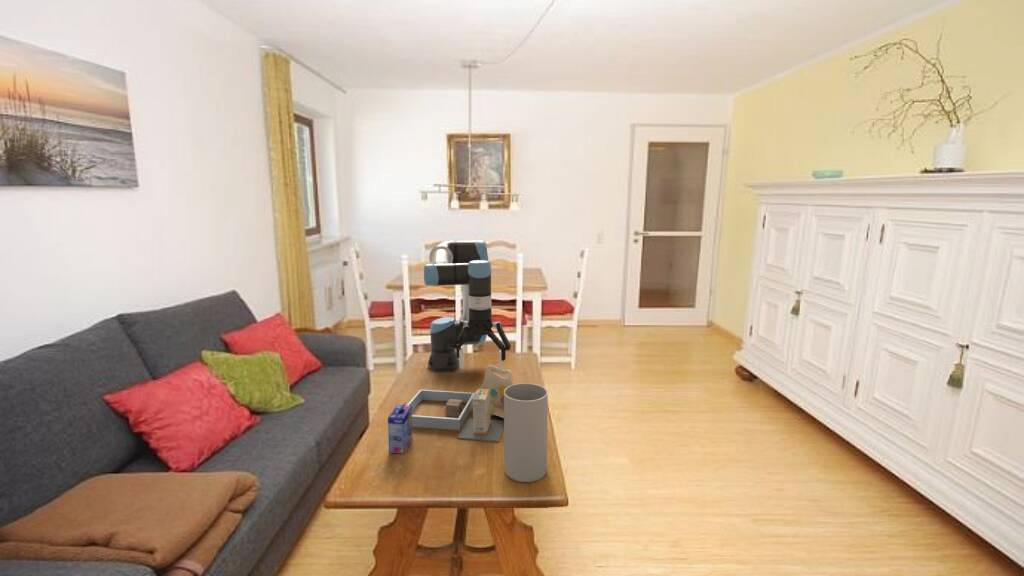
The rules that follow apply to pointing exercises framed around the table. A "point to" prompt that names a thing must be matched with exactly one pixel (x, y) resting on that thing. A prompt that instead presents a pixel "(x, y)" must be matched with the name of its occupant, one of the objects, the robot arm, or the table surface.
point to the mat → (491, 435)
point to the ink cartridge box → (400, 428)
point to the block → (454, 408)
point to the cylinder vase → (525, 432)
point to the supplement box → (481, 411)
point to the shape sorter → (496, 388)
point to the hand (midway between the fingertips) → (481, 368)
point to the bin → (441, 421)
